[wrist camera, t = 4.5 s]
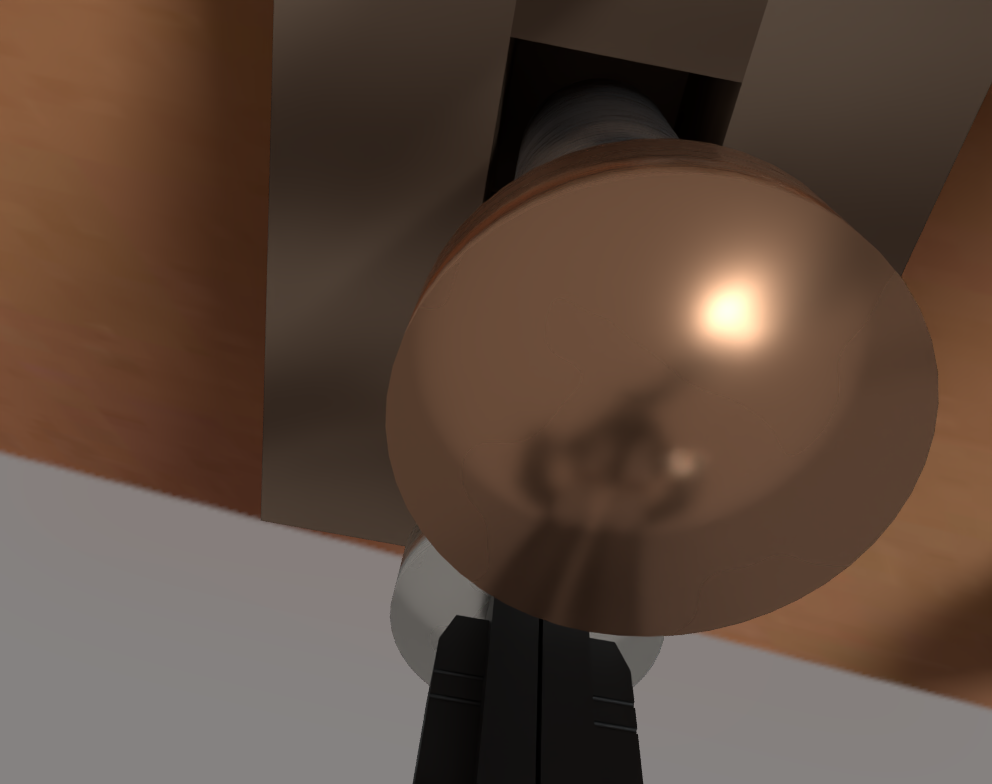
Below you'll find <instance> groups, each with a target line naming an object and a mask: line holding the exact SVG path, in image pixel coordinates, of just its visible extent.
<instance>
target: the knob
mask: <svg viewBox="0 0 992 784" xmlns="http://www.w3.org/2000/svg"><path fill="white" fill-rule="evenodd" d="M490 599H491V595H490V594H488V593H486V592H485V591H483V590H481V589H480V588H479V587H477V586H476V585H475V584H473V583H472V582H471V581H469V580H468V579H467V578H465V577H464V576H463V575H461V574H460V573H459V572H458V571H457V570H456V569H455V568H454V567H453V566H452V565H450V564H449V563H448V562H447V561H446V560H445V559H444V558H443V557H442V556H441V555H440V554H439V553H438V552H437V550H436V549H435V548H434V547H433V545H432V544H431V543H430V542H429V541H428V539H427V538H426V537H425V536H424V534H423V533H422V532H421V530H420V529H419V527H418V525H417V524H415V526H414V527H413V529H412V531H411V533H410V535H409V537H408V540H407V542H406V546H405V550H404V554H403V558H402V562H401V566H400V570H399V574H398V578H397V582H396V586H395V590H394V594H393V598H392V602H391V612H390V613H391V614H390V619H391V628H392V633H393V636H394V639H395V643H396V645H397V647H398V649H399V651H400V653H401V655H402V656H403V658H404V659H405V661H406V662H407V664H408V665H409V666H410V667H411V669H412V670H413V671H414V672H415V673H416V674H417V675H418V676H419V677H420V678H421V679H422V680H423V681H425V682H426V683H427V684H428V685H429V686H430V682H431V676H432V671H433V666H434V661H435V656H436V650H437V645H438V640H439V637H440V636H441V635H442V633H443V632H444V631H445V629H446V628H447V627H448V625H449V624H450V623H451V621H452V620H453V619H454V617H455V616H456V615H461V616H467V617H472V618H478V619H484V620H486V616H487V612H488V607H489V603H490ZM589 636H590V638H594V639H600V640H606V641H612V642H615V643H616V645H617V647H618V649H619V650H620V652H621V654H622V656H623V658H624V659H625V661H626V663H627V665H628V667H629V669H630V670H631V676H632V686H635V685H636V684H637V683H638V682H639V681H640V680H641V679H642V678H643V677H644V676H645V675H646V674H647V672H648V671H649V670H650V668H651V667H652V666H653V664H654V662H655V660H656V658H657V656H658V654H659V652H660V649H661V646H662V643H663V639H664V636H655V637H639V636H617V635H609V634H601V633H593V632H589Z"/></svg>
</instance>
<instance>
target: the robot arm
mask: <svg viewBox="0 0 992 784" xmlns="http://www.w3.org/2000/svg"><path fill="white" fill-rule="evenodd" d="M636 730H637V722H636V713H635V708H634V695H633V686H632V676H631V670H630V669H629V667H628V665H627V663H626V661H625V659H624V658H623V656H622V654H621V652H620V650H619V649H618V647H617V645H616V643H615V642H612V641H606V640H600V639H594V638H590V636H589V632H587V631H583V630H578V629H574V628H569V627H565V626H561V625H558V624H555V623H552V622H549V621H546V620H543V619H540V618H537V617H534V616H531V615H529V614H527V613H524V612H522V611H520V610H518V609H516V608H513V607H511V606H509V605H507V604H505V603H503V602H502V601H500V600H498V599H496V598H495V597H493V596H491V599H490V603H489V607H488V612H487V616H486V620H484V619H478V618H472V617H467V616H461V615H456V616H455V617H454V619H453V620H452V621H451V623H450V624H449V625H448V627H447V628H446V629H445V631H444V632H443V633H442V635H441V636H440V637H439V640H438V645H437V650H436V656H435V661H434V666H433V671H432V676H431V682H430V687H429V692H428V697H427V703H426V708H425V714H424V721H423V726H422V732H421V738H420V744H419V750H418V755H417V762H416V767H415V773H414V779H413V784H643V778H642V769H641V759H640V750H639V741H638V734H636Z"/></svg>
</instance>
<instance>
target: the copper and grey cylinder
mask: <svg viewBox="0 0 992 784" xmlns="http://www.w3.org/2000/svg"><path fill="white" fill-rule="evenodd" d="M937 410H938V371H937V365H936V360H935V355H934V350H933V344H932V340H931V337H930V334H929V332H928V329H927V326H926V324H925V321H924V318H923V316H922V313H921V310H920V308H919V306H918V305H917V303H916V301H915V300H914V298H913V296H912V294H911V293H910V291H909V289H908V288H907V286H906V284H905V283H904V281H903V279H902V278H901V277H900V276H899V274H898V273H897V272H896V271H895V270H894V268H893V267H892V266H891V265H890V264H889V262H888V261H887V260H886V259H885V258H884V257H883V255H882V254H881V253H880V252H879V251H878V250H877V249H876V248H875V247H874V246H873V245H872V244H870V243H869V242H868V241H867V240H866V239H865V238H864V237H863V236H862V235H861V234H859V233H858V232H857V231H856V230H855V229H854V228H853V227H852V226H851V225H850V224H848V223H847V222H846V221H845V220H844V219H843V218H842V217H841V216H840V215H839V214H837V213H836V212H835V211H834V210H833V209H832V208H831V207H830V206H829V205H828V204H826V203H825V202H824V201H823V200H822V199H821V198H819V197H818V196H817V195H816V194H815V193H814V192H812V191H811V190H810V189H809V188H808V187H807V186H805V185H804V184H803V183H802V182H800V181H799V180H797V179H795V178H794V177H792V176H791V175H789V174H787V173H786V172H784V171H782V170H781V169H779V168H778V167H776V166H774V165H772V164H770V163H768V162H765V161H763V160H761V159H758V158H756V157H754V156H751V155H749V154H747V153H744V152H742V151H738V150H734V149H730V148H727V147H723V146H719V145H716V144H712V143H707V142H699V141H691V140H683V139H679V138H678V136H677V135H676V133H675V132H674V130H673V129H672V128H671V126H670V125H669V123H668V122H667V120H666V119H665V117H664V116H663V114H662V113H661V111H660V110H659V109H658V107H657V106H656V105H655V103H654V102H653V101H652V100H651V99H650V98H649V97H648V96H646V95H645V94H644V93H643V92H642V91H640V90H638V89H637V88H635V87H633V86H631V85H629V84H627V83H624V82H621V81H617V80H613V79H605V78H593V79H586V80H581V81H578V82H575V83H572V84H569V85H567V86H565V87H563V88H561V89H559V90H558V91H556V92H555V93H553V94H552V95H551V96H549V97H548V98H547V99H546V100H545V101H544V102H543V103H542V104H541V105H540V106H539V107H538V108H537V110H536V111H535V113H534V114H533V115H532V117H531V119H530V120H529V122H528V124H527V126H526V129H525V131H524V134H523V137H522V141H521V145H520V150H519V156H518V161H517V167H516V172H515V178H514V181H512V182H510V183H509V184H507V185H506V186H504V187H503V188H502V189H501V190H499V191H498V192H497V193H496V194H494V195H493V196H492V197H491V198H489V199H488V200H487V201H485V202H484V203H483V204H482V205H480V207H479V208H478V209H477V210H476V211H475V212H474V213H473V214H472V215H471V216H470V217H469V218H468V219H467V220H466V221H465V222H464V223H463V224H462V225H461V226H460V227H459V228H458V230H457V231H456V232H455V234H454V235H453V236H452V238H451V239H450V240H449V242H448V243H447V245H446V246H445V247H444V249H443V250H442V251H441V253H440V255H439V256H438V258H437V260H436V262H435V264H434V266H433V268H432V269H431V271H430V273H429V275H428V277H427V279H426V281H425V284H424V286H423V289H422V291H421V294H420V296H419V299H418V301H417V304H416V306H415V309H414V311H413V314H412V316H411V319H410V321H409V324H408V326H407V329H406V331H405V334H404V336H403V339H402V342H401V345H400V347H399V350H398V353H397V356H396V358H395V361H394V364H393V367H392V372H391V377H390V382H389V387H388V392H387V400H386V424H385V427H386V436H387V445H388V454H389V458H390V462H391V466H392V470H393V473H394V477H395V481H396V484H397V486H398V488H399V491H400V493H401V495H402V498H403V500H404V502H405V505H406V507H407V509H408V511H409V512H410V514H411V515H412V517H413V519H414V520H415V522H416V524H417V525H418V527H419V529H420V530H421V532H422V533H423V534H424V536H425V537H426V538H427V539H428V541H429V542H430V543H431V544H432V545H433V547H434V548H435V549H436V550H437V552H438V553H439V554H440V555H441V556H442V557H443V558H444V559H445V560H446V561H447V562H448V563H449V564H450V565H452V566H453V567H454V568H455V569H456V570H457V571H458V572H459V573H460V574H461V575H463V576H464V577H465V578H467V579H468V580H469V581H471V582H472V583H473V584H475V585H476V586H477V587H479V588H480V589H481V590H483V591H485V592H486V593H488V594H490V595H491V596H493V597H495V598H496V599H498V600H500V601H502V602H503V603H505V604H507V605H509V606H511V607H513V608H516V609H518V610H520V611H522V612H524V613H527V614H529V615H531V616H534V617H537V618H540V619H543V620H546V621H549V622H552V623H555V624H558V625H561V626H565V627H569V628H574V629H578V630H583V631H587V632H593V633H601V634H609V635H617V636H639V637H655V636H673V635H684V634H690V633H697V632H704V631H710V630H714V629H718V628H722V627H726V626H730V625H735V624H739V623H742V622H745V621H748V620H751V619H753V618H756V617H759V616H762V615H765V614H768V613H770V612H773V611H775V610H777V609H779V608H781V607H783V606H786V605H788V604H790V603H792V602H794V601H796V600H799V599H800V598H802V597H804V596H805V595H807V594H809V593H810V592H812V591H814V590H816V589H817V588H819V587H821V586H822V585H824V584H826V583H827V582H828V581H830V580H831V579H832V578H834V577H835V576H836V575H838V574H839V573H841V572H842V571H843V570H845V569H846V568H847V567H849V566H850V565H851V564H852V563H853V562H854V561H856V560H857V559H858V558H859V557H860V556H861V555H862V554H863V553H864V552H865V551H866V550H867V549H868V548H869V547H871V546H872V545H873V544H874V543H875V542H876V540H877V539H878V538H879V537H880V536H881V534H882V533H883V532H884V531H885V530H886V529H887V527H888V526H889V525H890V524H891V523H892V521H893V520H894V519H895V518H896V516H897V514H898V513H899V511H900V510H901V508H902V507H903V505H904V504H905V502H906V501H907V499H908V498H909V496H910V494H911V493H912V491H913V489H914V487H915V484H916V482H917V480H918V478H919V476H920V474H921V472H922V470H923V467H924V465H925V462H926V459H927V456H928V453H929V449H930V446H931V443H932V440H933V436H934V431H935V424H936V417H937Z"/></svg>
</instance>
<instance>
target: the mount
mask: <svg viewBox="0 0 992 784" xmlns="http://www.w3.org/2000/svg"><path fill="white" fill-rule="evenodd" d="M593 78H605V79H613V80H617V81H621V82H624V83H627V84H629V85H631V86H633V87H635V88H637V89H638V90H640V91H642V92H643V93H644V94H645V95H646V96H648V97H649V98H650V99H651V100H652V101H653V102H654V103H655V105H656V106H657V107H658V109H659V110H660V111H661V113H662V114H663V116H664V117H665V119H666V120H667V122H668V123H669V125H670V126H671V128H672V129H673V130H674V132H675V133H676V135H677V136H678V138H679V139H683V140H691V141H699V142H707V143H712V144H716V145H719V146H723V147H727V148H730V149H734V150H738V151H742V152H744V153H747V154H749V155H751V156H754V157H756V158H758V159H761V160H763V161H765V162H768V163H770V164H772V165H774V166H776V167H778V168H779V169H781V170H782V171H784V172H786V173H787V174H789V175H791V176H792V177H794V178H795V179H797V180H799V181H800V182H802V183H803V184H804V185H805V186H807V187H808V188H809V189H810V190H811V191H812V192H814V193H815V194H816V195H817V196H818V197H819V198H821V199H822V200H823V201H824V202H825V203H826V204H828V205H829V206H830V207H831V208H832V209H833V210H834V211H835V212H836V213H837V214H839V215H840V216H841V217H842V218H843V219H844V220H845V221H846V222H847V223H848V224H850V225H851V226H852V227H853V228H854V229H855V230H856V231H857V232H858V233H859V234H861V235H862V236H863V237H864V238H865V239H866V240H867V241H868V242H869V243H870V244H872V245H873V246H874V247H875V248H876V249H877V250H878V251H879V252H880V253H881V254H882V255H883V257H884V258H885V259H886V260H887V261H888V262H889V264H890V265H891V266H892V267H893V268H894V270H895V271H896V272H897V273H898V274H899V276H900V277H901V275H902V273H903V271H904V269H905V266H906V264H907V262H908V260H909V258H910V256H911V254H912V251H913V249H914V247H915V245H916V243H917V241H918V239H919V237H920V234H921V232H922V230H923V228H924V226H925V224H926V222H927V219H928V217H929V215H930V213H931V211H932V209H933V207H934V205H935V202H936V200H937V198H938V196H939V194H940V192H941V190H942V187H943V185H944V183H945V181H946V179H947V177H948V175H949V173H950V170H951V168H952V166H953V164H954V162H955V160H956V158H957V155H958V153H959V151H960V149H961V147H962V145H963V143H964V141H965V138H966V136H967V134H968V132H969V130H970V128H971V126H972V123H973V121H974V119H975V117H976V115H977V113H978V111H979V109H980V106H981V104H982V102H983V100H984V98H985V96H986V94H987V91H988V89H989V87H990V85H991V83H992V0H274V19H273V58H272V98H271V138H270V177H269V217H268V257H267V297H266V336H265V376H264V416H263V455H262V495H261V520H262V521H267V522H273V523H278V524H284V525H290V526H295V527H301V528H306V529H312V530H318V531H323V532H329V533H334V534H340V535H345V536H351V537H357V538H362V539H368V540H373V541H379V542H385V543H390V544H396V545H401V546H406V542H407V540H408V537H409V535H410V533H411V531H412V529H413V527H414V526H415V524H416V522H415V520H414V519H413V517H412V515H411V514H410V512H409V511H408V509H407V507H406V505H405V502H404V500H403V498H402V495H401V493H400V491H399V488H398V486H397V484H396V481H395V477H394V473H393V470H392V466H391V462H390V458H389V454H388V445H387V436H386V427H385V424H386V400H387V392H388V387H389V382H390V377H391V372H392V367H393V364H394V361H395V358H396V356H397V353H398V350H399V347H400V345H401V342H402V339H403V336H404V334H405V331H406V329H407V326H408V324H409V321H410V319H411V316H412V314H413V311H414V309H415V306H416V304H417V301H418V299H419V296H420V294H421V291H422V289H423V286H424V284H425V281H426V279H427V277H428V275H429V273H430V271H431V269H432V268H433V266H434V264H435V262H436V260H437V258H438V256H439V255H440V253H441V251H442V250H443V249H444V247H445V246H446V245H447V243H448V242H449V240H450V239H451V238H452V236H453V235H454V234H455V232H456V231H457V230H458V228H459V227H460V226H461V225H462V224H463V223H464V222H465V221H466V220H467V219H468V218H469V217H470V216H471V215H472V214H473V213H474V212H475V211H476V210H477V209H478V208H479V207H480V205H482V204H483V203H484V202H485V201H487V200H488V199H489V198H491V197H492V196H493V195H494V194H496V193H497V192H498V191H499V190H501V189H502V188H503V187H504V186H506V185H507V184H509V183H510V182H512V181H514V178H515V172H516V167H517V161H518V156H519V150H520V145H521V141H522V137H523V134H524V131H525V129H526V126H527V124H528V122H529V120H530V119H531V117H532V115H533V114H534V113H535V111H536V110H537V108H538V107H539V106H540V105H541V104H542V103H543V102H544V101H545V100H546V99H547V98H548V97H549V96H551V95H552V94H553V93H555V92H556V91H558V90H559V89H561V88H563V87H565V86H567V85H569V84H572V83H575V82H578V81H581V80H586V79H593Z"/></svg>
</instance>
